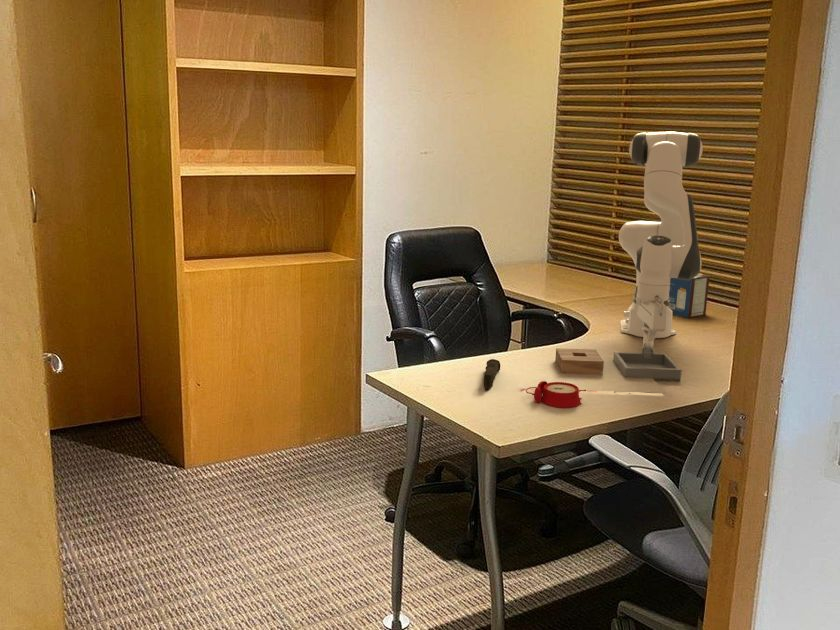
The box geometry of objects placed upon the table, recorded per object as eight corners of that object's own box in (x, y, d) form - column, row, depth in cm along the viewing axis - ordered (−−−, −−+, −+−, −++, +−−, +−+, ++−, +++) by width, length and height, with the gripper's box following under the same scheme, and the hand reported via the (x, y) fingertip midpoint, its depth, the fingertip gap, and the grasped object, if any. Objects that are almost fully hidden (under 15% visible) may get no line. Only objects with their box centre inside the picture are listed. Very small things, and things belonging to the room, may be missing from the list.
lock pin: (637, 354, 246) (640, 325, 243) (652, 354, 246) (655, 325, 243) (641, 358, 241) (644, 328, 239) (656, 358, 241) (659, 329, 239)
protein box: (674, 306, 328) (678, 268, 324) (706, 315, 316) (710, 275, 312) (656, 309, 323) (660, 270, 319) (687, 318, 310) (692, 277, 306)
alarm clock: (582, 398, 211) (527, 378, 215) (575, 420, 213) (520, 400, 217) (588, 386, 220) (535, 367, 224) (581, 406, 222) (528, 387, 226)
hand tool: (486, 370, 243) (487, 355, 242) (500, 372, 242) (500, 356, 241) (476, 392, 225) (476, 375, 224) (490, 393, 224) (491, 377, 223)
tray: (612, 362, 253) (613, 352, 252) (665, 364, 253) (666, 353, 252) (624, 379, 237) (625, 368, 236) (680, 381, 237) (681, 369, 236)
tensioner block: (555, 363, 251) (556, 348, 250) (594, 364, 251) (595, 349, 250) (561, 375, 239) (562, 360, 238) (602, 377, 239) (603, 361, 238)
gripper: (674, 300, 229) (669, 348, 232) (655, 285, 249) (650, 329, 252) (651, 300, 229) (647, 348, 232) (634, 285, 249) (630, 329, 252)
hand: (648, 338), depth 242 cm, fingers closed on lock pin, 3 cm apart
